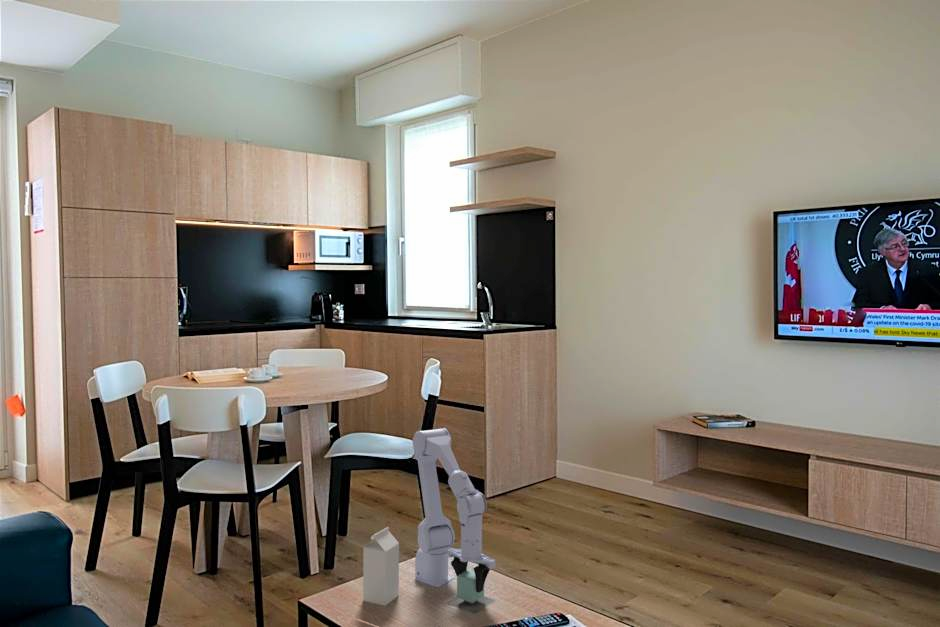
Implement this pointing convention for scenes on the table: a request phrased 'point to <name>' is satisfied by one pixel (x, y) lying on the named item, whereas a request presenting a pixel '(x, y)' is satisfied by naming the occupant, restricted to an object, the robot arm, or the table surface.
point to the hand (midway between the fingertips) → (470, 588)
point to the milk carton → (381, 568)
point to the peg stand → (471, 604)
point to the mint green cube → (468, 587)
